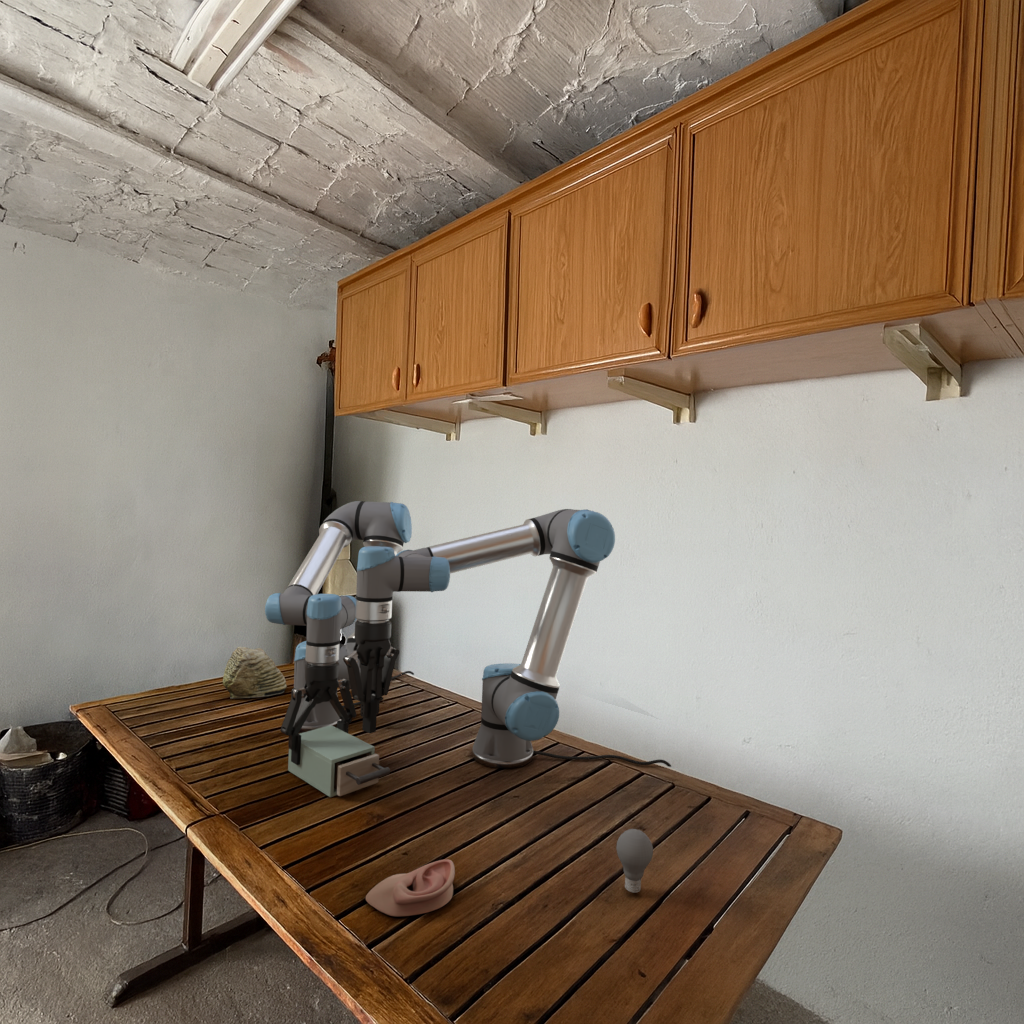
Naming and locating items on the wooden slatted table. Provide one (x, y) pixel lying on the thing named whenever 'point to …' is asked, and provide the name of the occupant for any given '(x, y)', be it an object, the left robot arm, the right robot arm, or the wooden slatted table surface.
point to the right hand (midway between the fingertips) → (369, 730)
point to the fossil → (252, 674)
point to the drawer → (357, 773)
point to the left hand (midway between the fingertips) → (318, 755)
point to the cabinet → (325, 756)
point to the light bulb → (634, 857)
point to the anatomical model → (414, 890)
